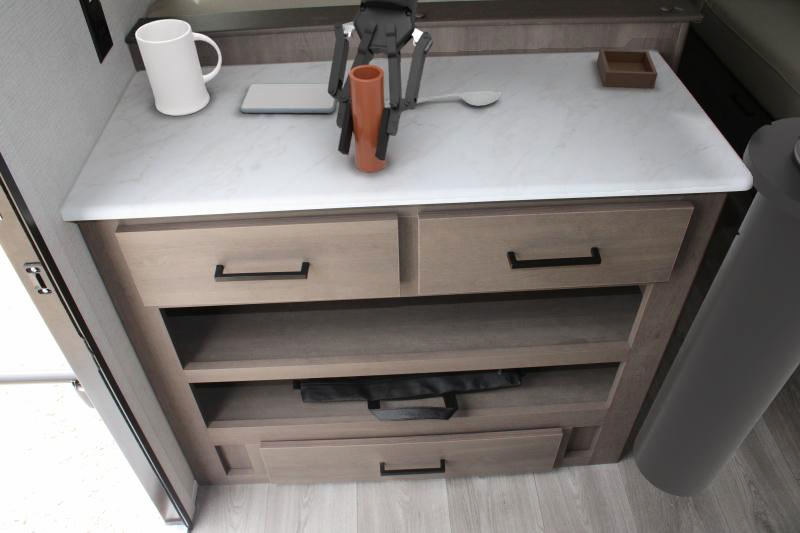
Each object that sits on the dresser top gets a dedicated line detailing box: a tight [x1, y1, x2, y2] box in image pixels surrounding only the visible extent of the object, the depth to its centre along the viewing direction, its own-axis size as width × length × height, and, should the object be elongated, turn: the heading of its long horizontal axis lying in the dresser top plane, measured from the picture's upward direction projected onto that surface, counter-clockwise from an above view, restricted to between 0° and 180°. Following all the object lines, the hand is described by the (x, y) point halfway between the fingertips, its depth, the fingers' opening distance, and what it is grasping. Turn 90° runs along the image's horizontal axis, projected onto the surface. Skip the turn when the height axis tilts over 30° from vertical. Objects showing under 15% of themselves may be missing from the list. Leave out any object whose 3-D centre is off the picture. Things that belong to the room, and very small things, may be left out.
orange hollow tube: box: [348, 64, 387, 174], centre depth 85 cm, size 4×4×14 cm
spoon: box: [385, 90, 502, 108], centre depth 101 cm, size 4×21×2 cm, turn 92°
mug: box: [134, 18, 223, 117], centre depth 99 cm, size 12×8×12 cm
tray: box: [596, 48, 658, 89], centre depth 107 cm, size 8×8×3 cm
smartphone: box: [239, 82, 337, 114], centre depth 102 cm, size 8×1×15 cm
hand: (361, 155), depth 85 cm, fingers closed on orange hollow tube, 4 cm apart
